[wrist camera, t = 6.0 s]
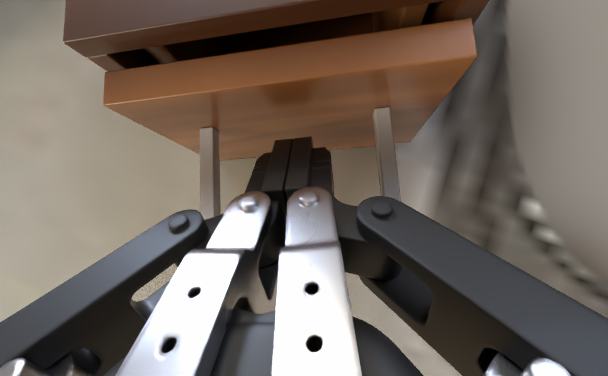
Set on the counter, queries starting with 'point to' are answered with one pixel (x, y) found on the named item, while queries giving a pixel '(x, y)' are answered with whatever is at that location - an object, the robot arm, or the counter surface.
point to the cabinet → (212, 21)
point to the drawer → (298, 89)
